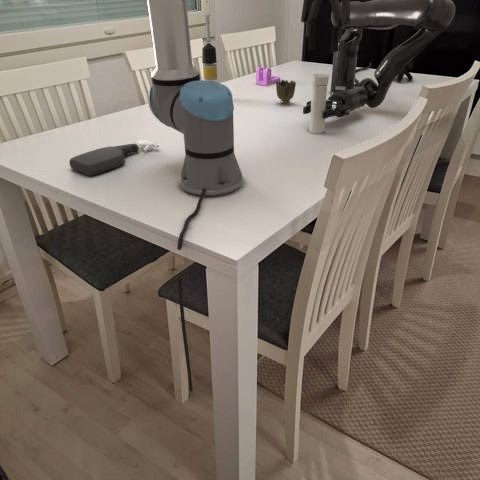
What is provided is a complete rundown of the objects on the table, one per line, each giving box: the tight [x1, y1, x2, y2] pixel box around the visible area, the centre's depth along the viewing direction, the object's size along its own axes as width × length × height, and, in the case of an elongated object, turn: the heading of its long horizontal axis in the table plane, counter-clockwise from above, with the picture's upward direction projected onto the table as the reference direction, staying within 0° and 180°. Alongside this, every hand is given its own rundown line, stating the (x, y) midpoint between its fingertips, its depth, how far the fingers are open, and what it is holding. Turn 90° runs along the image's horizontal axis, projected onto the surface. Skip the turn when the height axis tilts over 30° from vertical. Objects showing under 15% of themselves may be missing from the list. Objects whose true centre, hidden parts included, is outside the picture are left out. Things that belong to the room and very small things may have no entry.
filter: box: [201, 14, 218, 82], centre depth 171 cm, size 6×6×30 cm
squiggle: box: [396, 59, 414, 83], centre depth 198 cm, size 11×10×15 cm
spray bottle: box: [68, 139, 160, 177], centre depth 124 cm, size 3×11×24 cm
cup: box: [275, 79, 297, 106], centre depth 168 cm, size 8×7×8 cm
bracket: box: [255, 66, 281, 87], centre depth 199 cm, size 13×6×7 cm, turn 143°
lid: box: [311, 73, 330, 86], centre depth 134 cm, size 5×5×2 cm
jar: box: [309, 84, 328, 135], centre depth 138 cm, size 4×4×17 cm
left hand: (322, 50), depth 130 cm, fingers open, 7 cm apart
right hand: (313, 113), depth 138 cm, fingers open, 7 cm apart
